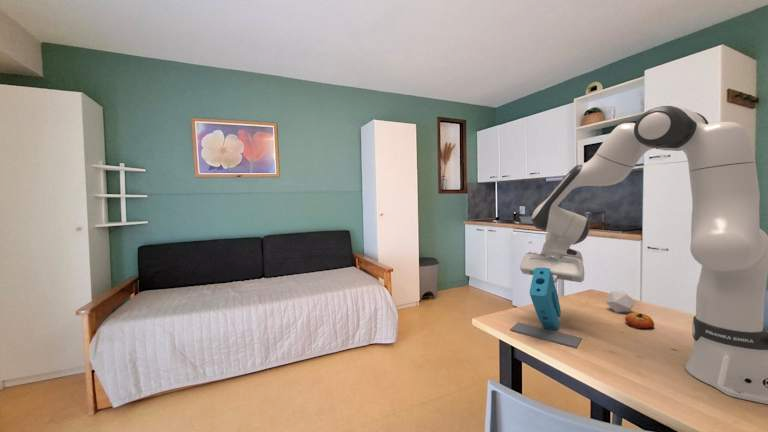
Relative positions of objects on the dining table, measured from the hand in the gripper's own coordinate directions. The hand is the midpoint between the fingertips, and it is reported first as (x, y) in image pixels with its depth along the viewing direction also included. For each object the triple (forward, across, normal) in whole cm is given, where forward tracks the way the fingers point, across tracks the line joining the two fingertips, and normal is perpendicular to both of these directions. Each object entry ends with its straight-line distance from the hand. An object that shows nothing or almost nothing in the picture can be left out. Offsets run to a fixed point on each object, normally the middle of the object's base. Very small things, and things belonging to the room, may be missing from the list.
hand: (546, 286), depth 105 cm
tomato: (-7, +24, +28) cm, 37 cm away
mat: (+14, +1, +8) cm, 16 cm away
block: (+5, +1, +13) cm, 14 cm away
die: (-16, +18, +37) cm, 44 cm away
